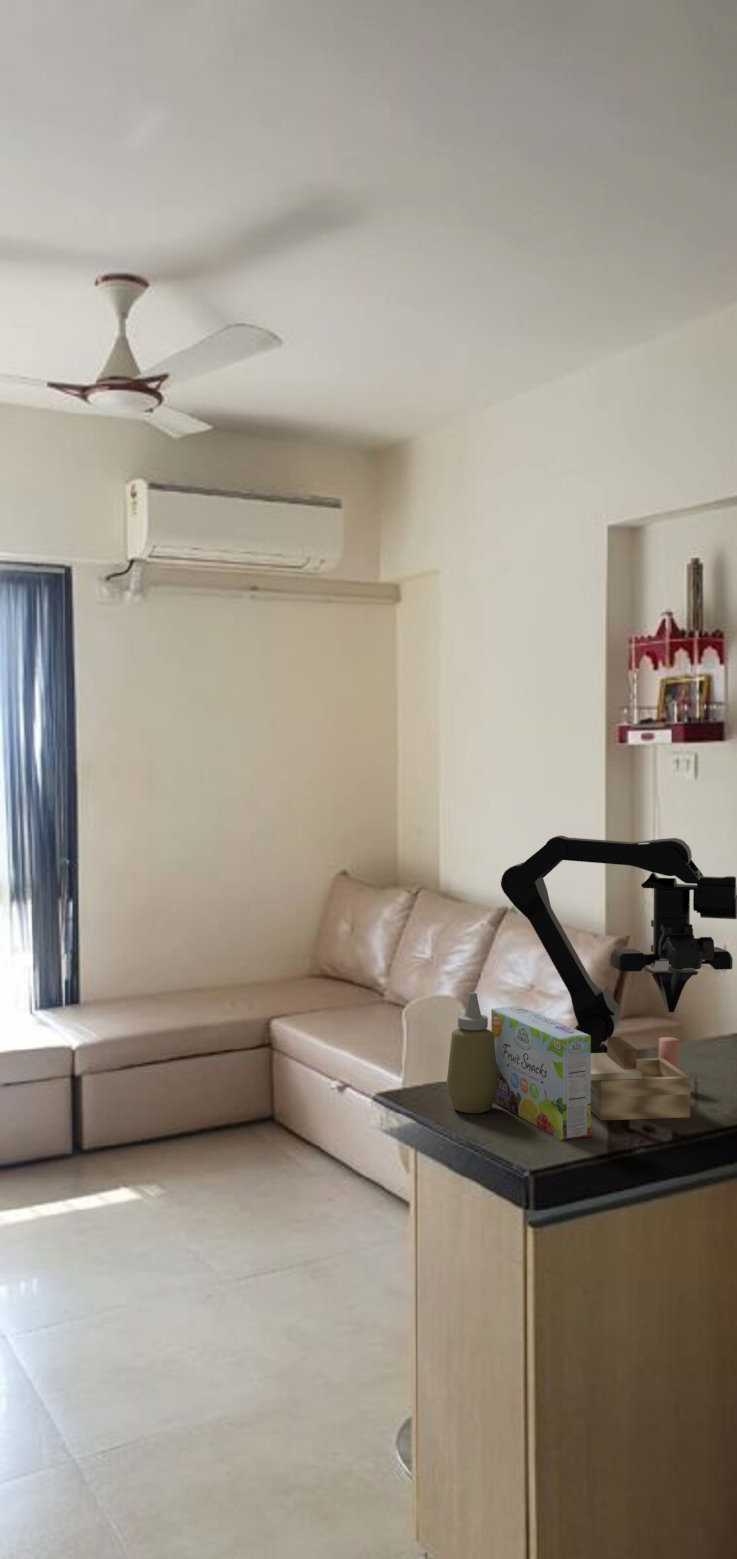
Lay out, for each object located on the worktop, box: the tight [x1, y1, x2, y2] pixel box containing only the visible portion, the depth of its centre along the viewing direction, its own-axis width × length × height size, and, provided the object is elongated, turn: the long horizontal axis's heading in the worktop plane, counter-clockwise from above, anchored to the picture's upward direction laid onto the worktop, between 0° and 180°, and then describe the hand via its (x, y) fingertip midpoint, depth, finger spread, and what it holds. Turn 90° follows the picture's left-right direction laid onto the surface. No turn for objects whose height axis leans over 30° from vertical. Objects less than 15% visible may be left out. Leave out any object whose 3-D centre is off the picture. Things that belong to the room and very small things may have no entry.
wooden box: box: [591, 1057, 692, 1121], centre depth 196 cm, size 14×12×6 cm
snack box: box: [490, 1005, 592, 1142], centre depth 190 cm, size 21×6×15 cm, turn 23°
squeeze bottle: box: [446, 992, 498, 1114], centre depth 195 cm, size 8×8×18 cm
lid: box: [591, 1036, 642, 1080], centre depth 195 cm, size 9×12×4 cm
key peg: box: [658, 1036, 680, 1070], centre depth 207 cm, size 3×3×8 cm
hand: (670, 1011), depth 205 cm, fingers closed
